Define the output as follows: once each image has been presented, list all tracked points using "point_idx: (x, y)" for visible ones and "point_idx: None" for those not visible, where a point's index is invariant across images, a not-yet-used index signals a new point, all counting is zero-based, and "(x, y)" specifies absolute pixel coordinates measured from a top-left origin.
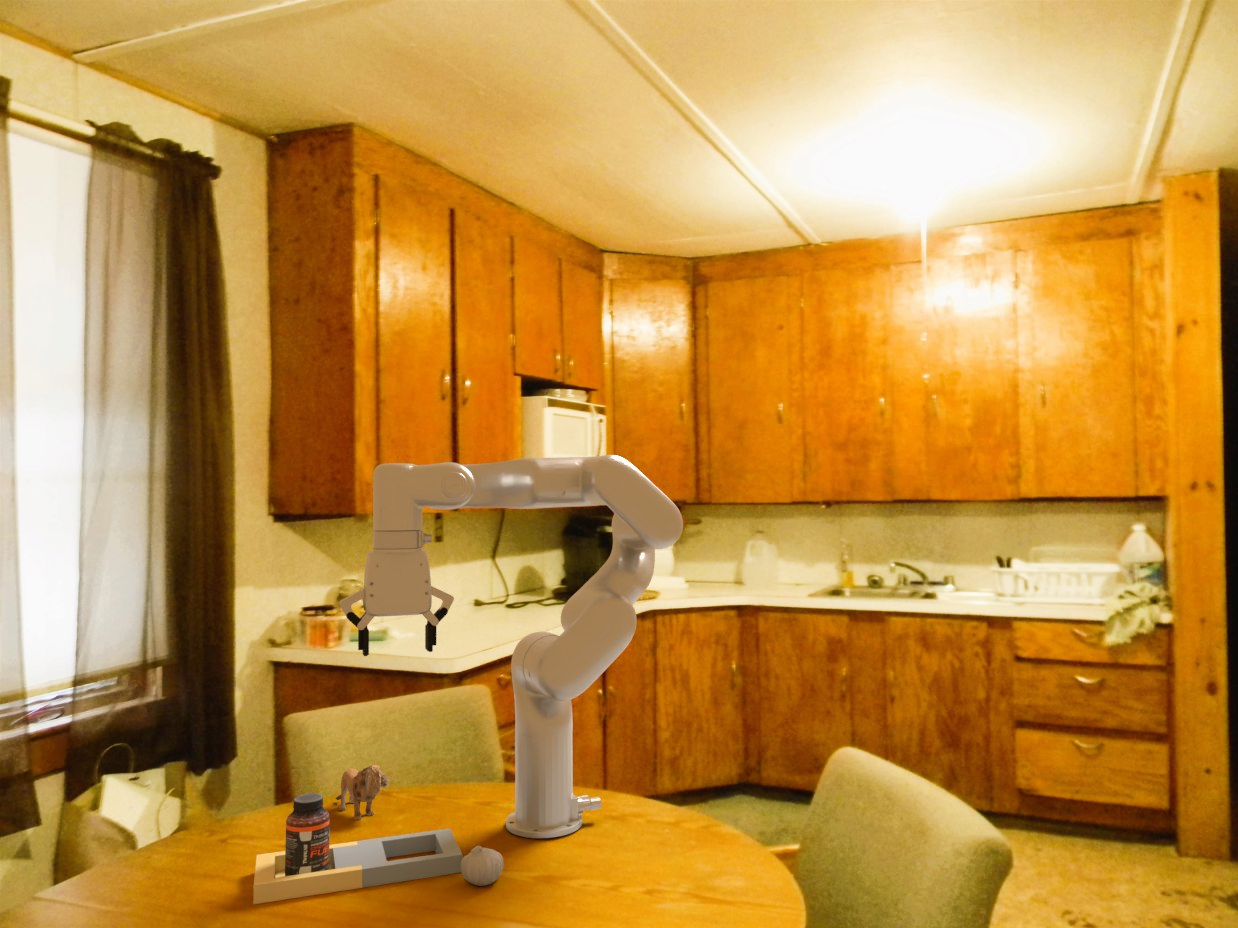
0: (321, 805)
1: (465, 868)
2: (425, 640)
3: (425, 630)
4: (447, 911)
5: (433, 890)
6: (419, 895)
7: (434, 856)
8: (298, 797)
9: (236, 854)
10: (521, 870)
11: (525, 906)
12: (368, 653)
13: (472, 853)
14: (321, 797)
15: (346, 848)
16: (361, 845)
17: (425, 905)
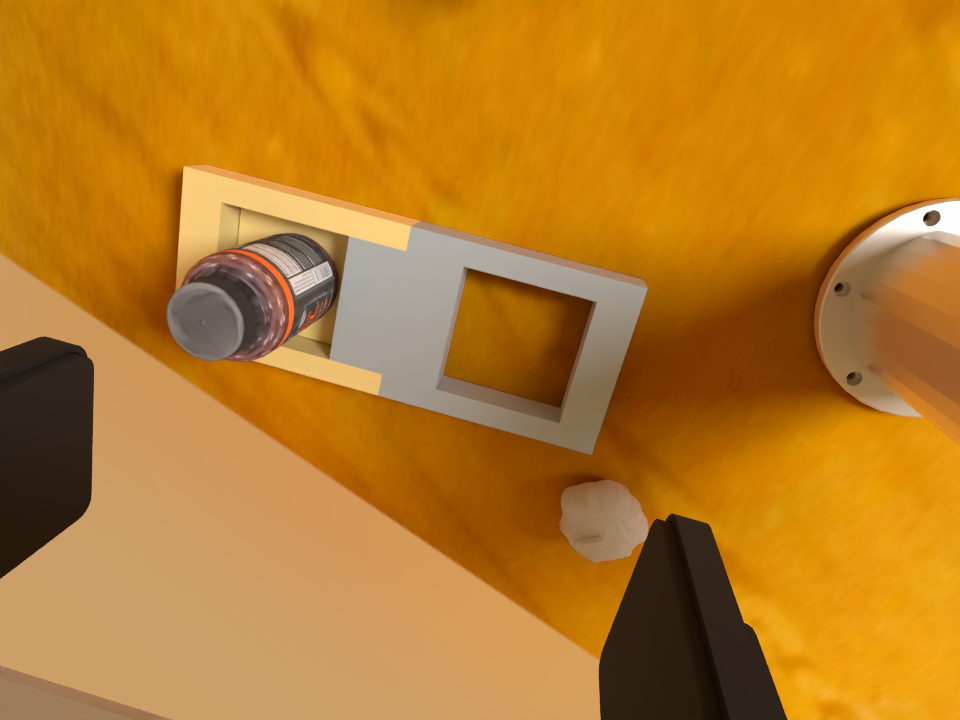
0: (246, 344)
1: (562, 516)
2: (665, 576)
3: (681, 677)
4: (490, 559)
5: (503, 475)
6: (472, 477)
7: (534, 427)
8: (178, 304)
9: (167, 6)
10: (697, 502)
11: (612, 623)
12: (76, 519)
13: (582, 528)
14: (237, 343)
15: (376, 259)
16: (412, 262)
17: (466, 518)
